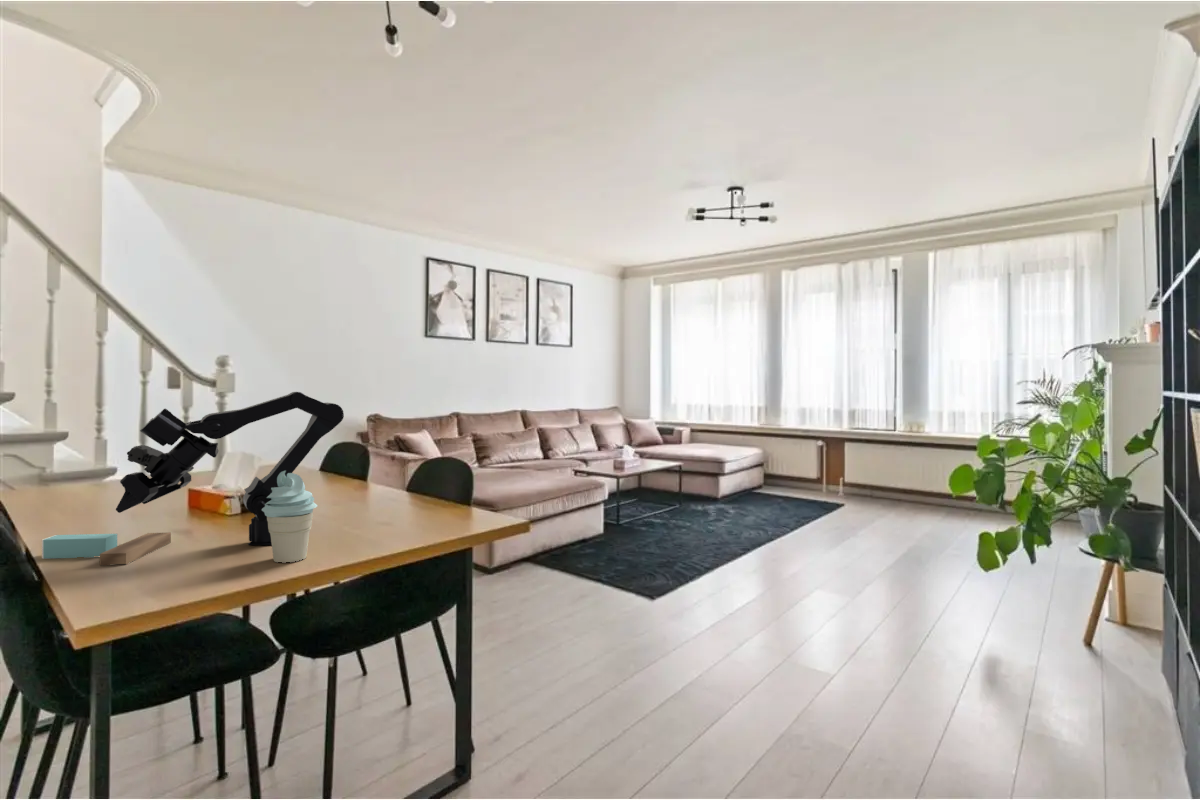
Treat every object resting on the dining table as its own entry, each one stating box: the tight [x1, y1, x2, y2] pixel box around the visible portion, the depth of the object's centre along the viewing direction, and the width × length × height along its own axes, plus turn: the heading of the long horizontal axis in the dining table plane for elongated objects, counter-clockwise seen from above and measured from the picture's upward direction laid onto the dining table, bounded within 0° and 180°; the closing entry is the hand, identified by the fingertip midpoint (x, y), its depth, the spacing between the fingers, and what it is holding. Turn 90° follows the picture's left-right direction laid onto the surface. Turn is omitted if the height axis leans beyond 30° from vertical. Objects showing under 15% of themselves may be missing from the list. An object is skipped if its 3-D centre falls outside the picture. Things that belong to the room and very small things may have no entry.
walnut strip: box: [99, 532, 172, 566], centre depth 138 cm, size 5×18×2 cm, turn 10°
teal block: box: [41, 533, 118, 559], centre depth 136 cm, size 4×4×12 cm
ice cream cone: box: [262, 471, 318, 564], centre depth 136 cm, size 10×11×20 cm
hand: (130, 506), depth 138 cm, fingers open, 9 cm apart
